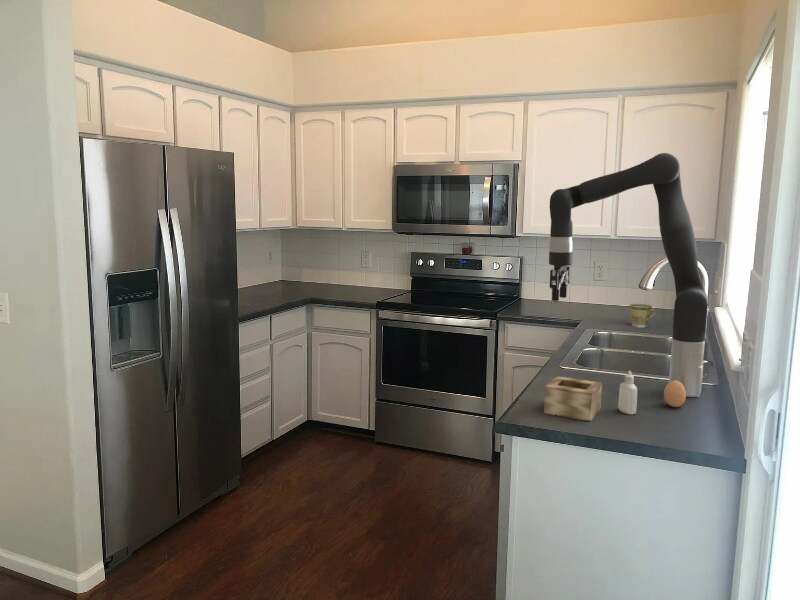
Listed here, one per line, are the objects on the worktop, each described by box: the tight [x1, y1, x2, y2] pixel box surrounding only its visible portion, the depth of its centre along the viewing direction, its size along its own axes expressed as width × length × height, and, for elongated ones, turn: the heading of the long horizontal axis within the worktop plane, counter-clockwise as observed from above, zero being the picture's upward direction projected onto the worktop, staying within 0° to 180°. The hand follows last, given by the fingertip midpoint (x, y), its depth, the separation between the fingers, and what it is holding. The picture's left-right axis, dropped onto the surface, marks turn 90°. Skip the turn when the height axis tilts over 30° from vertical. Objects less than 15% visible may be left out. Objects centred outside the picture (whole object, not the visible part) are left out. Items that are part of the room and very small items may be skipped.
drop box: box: [543, 375, 603, 423], centre depth 185 cm, size 13×12×8 cm
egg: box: [663, 380, 687, 408], centre depth 190 cm, size 6×6×8 cm
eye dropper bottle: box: [617, 370, 638, 415], centre depth 185 cm, size 4×6×12 cm
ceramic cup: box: [629, 303, 657, 328], centre depth 307 cm, size 13×10×10 cm
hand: (559, 299), depth 216 cm, fingers open, 8 cm apart
